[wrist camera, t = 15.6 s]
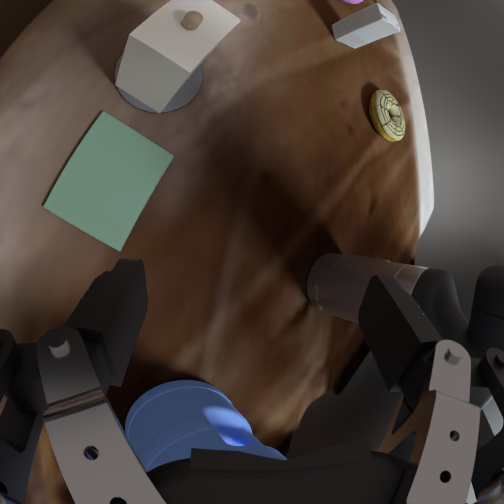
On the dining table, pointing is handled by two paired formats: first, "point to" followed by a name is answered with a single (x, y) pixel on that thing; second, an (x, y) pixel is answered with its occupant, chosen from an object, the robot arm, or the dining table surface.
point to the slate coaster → (178, 99)
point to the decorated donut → (386, 115)
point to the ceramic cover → (171, 49)
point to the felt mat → (108, 181)
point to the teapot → (352, 1)
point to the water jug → (188, 424)
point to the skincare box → (365, 26)
